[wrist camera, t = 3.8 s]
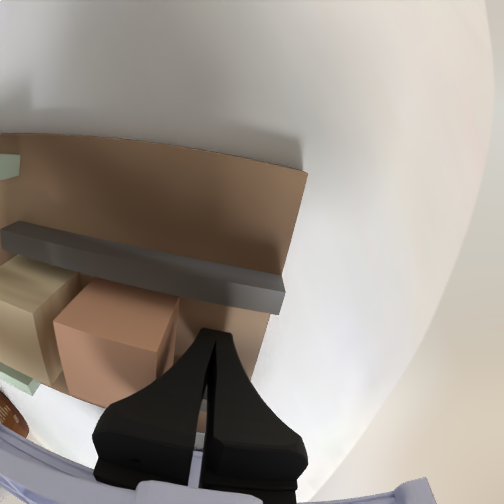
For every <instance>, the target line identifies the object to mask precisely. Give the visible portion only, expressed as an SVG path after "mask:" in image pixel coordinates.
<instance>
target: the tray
mask: <svg viewBox="0 0 504 504" xmlns="http://www.w3.org/2000/svg"><path fill="white" fill-rule="evenodd" d="M19 168H20V155H14V154H0V181H1V180H4V179H8V178H12V177H15V176H19ZM0 379H1V380H3V381H5V382H7V383H8V384H10V385H12V386H14V387H16V388H17V389H19V390H21V391H23V392H25V393H27V394H29V395H31V396H33V394H34V393H35V391H36V390H37V388H38V387H39V385H40V384H41V382H39V381H37V380H35V379H33V378H31V377H29V376H27V375H25V374H23V373H21V372H19V371H17V370H15V369H13V368H11V367H9V366H7V365H5V364H4V363H2V362H0Z"/></svg>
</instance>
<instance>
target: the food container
mask: <svg viewBox="0 0 504 504" xmlns="http://www.w3.org/2000/svg"><path fill="white" fill-rule="evenodd" d="M0 421H1V424H2V425H4V426H5V427H7V428H9V429H10V430H12V431H14V432H15V433H17V434H19V435H20V436H22V437H24V438H26V437H27V435H28V433H29V427H28V425H27V423H26V421H25V419H24V418H23V416H22V415H21V414H20V412H19V411H18V410H17V409H16V407H15V406H14V405H13V404H12V403H11V402H10V401H9V399H8V398H7V397H6V396H5V395H4V394H3V393H2V392H1V391H0ZM9 494H10V492H8V491H7V490H5V489H4V488H2V487H1V486H0V501H1V500H2V499H3V498H4V499H6V498H7V496H8V495H9Z"/></svg>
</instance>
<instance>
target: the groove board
mask: <svg viewBox="0 0 504 504" xmlns="http://www.w3.org/2000/svg"><path fill="white" fill-rule="evenodd" d="M0 154H14V155H20V168H19V176H15V177H12V178H8V179H4V180H1V181H0V266H1V265H3V264H4V263H6V262H7V261H9V260H10V259H12V258H13V257H15V256H17V255H21V256H24V257H27V258H30V259H34V260H37V261H40V262H44V263H47V264H51V265H54V266H58V267H61V268H65V269H68V270H72V271H76V272H79V273H80V287H81V291H82V290H83V289H84V288H85V287H86V286H87V285H88V284H89V283H90V282H91V281H92V280H93V279H94V278H95V277H98V278H102V279H106V280H110V281H114V282H118V283H122V284H126V285H131V286H135V287H139V288H143V289H148V290H152V291H157V292H161V293H166V294H170V295H175V296H180V301H179V310H178V320H177V330H176V340H175V351H174V362H173V365H174V364H175V363H176V362H177V361H178V360H179V359H180V358H181V356H182V355H183V354H184V353H185V352H186V351H187V349H188V348H189V347H190V346H191V344H192V343H193V341H194V340H195V339H196V337H197V335H198V333H199V331H200V329H202V328H208V329H213V330H219V331H224V332H229V333H231V334H232V335H233V340H234V344H235V347H236V350H237V353H238V356H239V358H240V361H241V363H242V366H243V368H244V370H245V372H246V374H247V376H248V378H249V380H251V377H252V374H253V371H254V367H255V364H256V361H257V358H258V354H259V351H260V348H261V344H262V341H263V338H264V334H265V331H266V327H267V324H268V321H269V317H270V314H275V315H279V313H280V309H281V306H282V303H283V299H284V296H285V293H286V292H285V288H284V284H283V280H282V276H281V275H282V271H283V268H284V264H285V260H286V257H287V253H288V249H289V246H290V242H291V238H292V234H293V231H294V227H295V223H296V219H297V215H298V211H299V208H300V204H301V200H302V196H303V192H304V188H305V184H306V180H307V176H308V173H306V172H304V171H301V170H297V169H293V168H288V167H284V166H280V165H276V164H271V163H267V162H262V161H257V160H253V159H248V158H243V157H238V156H233V155H228V154H222V153H217V152H211V151H206V150H200V149H194V148H188V147H181V146H174V145H168V144H160V143H153V142H145V141H137V140H128V139H118V138H108V137H96V136H82V135H66V134H40V133H0ZM173 365H172V366H173ZM41 384H44V383H42V382H41ZM44 385H46V384H44ZM46 386H48V385H46ZM48 387H50V386H48ZM50 388H53V389H55V390H57V391H60V392H62V393H65V394H67V395H70V394H69V390H68V387H67V383H66V379H65V376H64V372H63V370H62V371H61V373H60V374H59V376H58V377H57V379H56V381H55V382H54V384H53V385H52V387H50ZM70 396H72V395H70ZM72 397H75V396H72ZM75 398H77V397H75ZM77 399H80V398H77ZM80 400H83V399H80ZM83 401H85V400H83ZM85 402H88V401H85ZM88 403H91V402H88ZM91 404H94V403H91ZM94 405H97V404H94ZM97 406H100V405H97ZM100 407H102V408H105V409H107V408H106V407H103V406H100ZM206 413H207V386H206V390H205V394H204V397H203V401H202V405H201V409H200V412H199V416H198V423H197V430H196V432H202V433H205V431H206Z"/></svg>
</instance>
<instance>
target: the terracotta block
mask: <svg viewBox="0 0 504 504" xmlns="http://www.w3.org/2000/svg"><path fill="white" fill-rule="evenodd" d="M179 301H180V296H175V295H170V294H166V293H161V292H157V291H152V290H148V289H143V288H139V287H135V286H131V285H126V284H122V283H118V282H114V281H110V280H106V279H102V278H98V277H95V278H94V279H93V280H92V281H91V282H90V283H89V284H88V285H87V286H86V287H85V288H84V289H83V290H82V291H81V292H80V293H79V294H78V295H77V296H76V297H75V298H74V299H73V300H72V301H71V302H70V303H69V304H68V305H67V306H66V307H65V309H64V310H63V311H62V312H61V313H60V314H59V315H58V316H57V317H56V318H55V319H54V320H53V325H54V330H55V336H56V341H57V346H58V350H59V355H60V359H61V364H62V368H63V372H64V376H65V379H66V383H67V387H68V390H69V394H70V395H72V396H75V397H77V398H80V399H83V400H85V401H88V402H91V403H94V404H97V405H100V406H103V407H106V408H107V407H108V406H109V405H110V404H112V403H114V402H117V401H119V400H121V399H124V398H126V397H128V396H130V395H132V394H134V393H136V392H137V391H139V390H141V389H143V388H145V387H146V386H148V385H149V384H151V383H152V382H153V381H155V380H156V379H158V378H159V377H160V376H162V375H163V374H164V373H165V372H166V371H167V370H169V369H170V368H171V367H172V365H173V362H174V351H175V340H176V330H177V320H178V310H179Z"/></svg>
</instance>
